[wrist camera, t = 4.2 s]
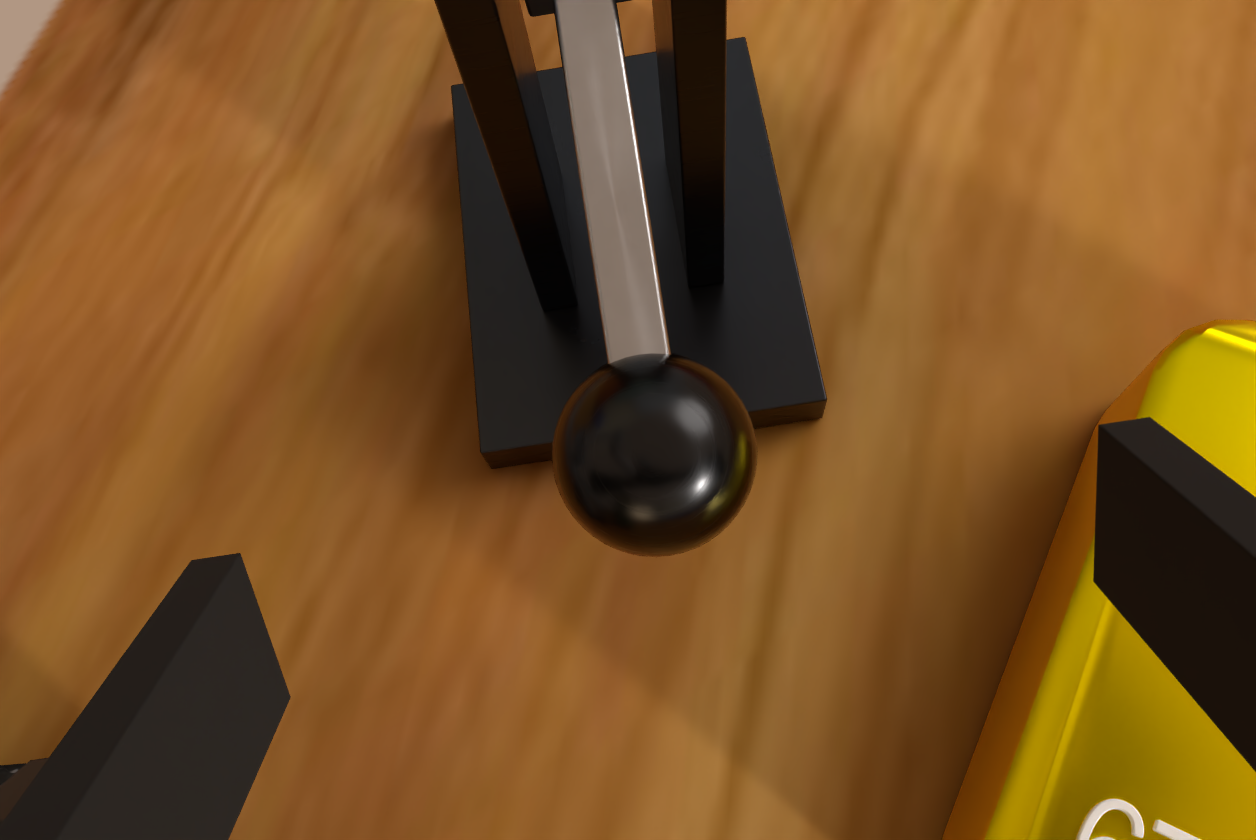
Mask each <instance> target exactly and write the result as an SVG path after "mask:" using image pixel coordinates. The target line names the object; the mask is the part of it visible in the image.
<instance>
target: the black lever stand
mask: <svg viewBox="0 0 1256 840" xmlns="http://www.w3.org/2000/svg"><path fill="white" fill-rule="evenodd" d="M434 1H435V4H436V6H437V9H438V12H439V15H440V18H441V21H442V24H443V27H444V29H445V32H446V35H447V38H448V41H449V44H450V47H451V49H452V52H453V55H454V58H455V61H456V64H457V67H458V70H459V72H460V75H461V78H462V81H463V84H457V85H452V86H451V93H452V105H453V117H454V130H455V142H456V155H457V167H458V180H459V192H460V204H461V217H462V229H463V242H464V254H465V267H466V279H467V291H468V304H469V316H470V329H471V341H472V354H473V366H474V378H475V391H476V403H477V416H478V428H479V441H480V452H481V454H482V455H483V457H484V459H485V460H486V462H487V463H488V465H489V466H490V468H491V469H494V468H500V467H507V466H513V465H520V464H526V463H533V462H539V461H546V460H552V443H553V437H554V432H555V427H556V424H557V421H558V418H559V415H560V413H561V411H562V409H563V407H564V405H565V403H566V402H567V400H568V398H569V397H570V395H571V394H572V392H573V391H574V390H575V389H576V388H577V387H578V385H579V384H580V383H581V382H582V381H583V380H584V379H585V378H586V377H588V376H589V375H590V374H591V373H592V372H594V371H595V370H597V369H598V368H600V367H601V366H603V365H605V364H607V363H608V360H607V354H606V347H605V341H604V334H603V328H602V321H601V315H600V308H599V302H598V295H597V288H596V282H595V275H594V269H593V262H592V256H591V249H590V243H589V236H588V230H587V223H586V216H585V210H584V203H583V197H582V190H581V184H580V177H579V171H578V164H577V158H576V151H575V145H574V138H573V131H572V125H571V118H570V112H569V105H568V99H567V92H566V86H565V79H564V73H563V67H560V68H554V69H547V70H541V71H536V67H535V63H534V59H533V55H532V51H531V47H530V43H529V39H528V35H527V31H526V27H525V23H524V18H523V14H522V10H521V6H520V2H519V0H434ZM652 6H653V18H654V30H655V42H656V52H650V53H644V54H638V55H632V56H626V57H625V62H626V68H627V75H628V81H629V88H630V94H631V101H632V107H633V113H634V120H635V126H636V133H637V139H638V146H639V152H640V158H641V165H642V171H643V178H644V184H645V191H646V197H647V204H648V210H649V216H650V223H651V229H652V236H653V242H654V249H655V255H656V261H657V268H658V274H659V281H660V287H661V294H662V300H663V307H664V313H665V319H666V326H667V332H668V339H669V345H670V352H671V353H673V354H679V355H682V356H685V357H689V358H692V359H694V360H696V361H698V362H700V363H702V364H704V365H706V366H707V367H709V368H711V369H712V370H714V371H715V372H716V373H718V374H719V375H720V376H721V377H722V378H724V379H725V380H726V381H727V382H728V383H729V384H730V386H731V387H732V388H733V389H734V390H735V391H736V393H737V394H738V396H739V397H740V398H741V400H742V402H743V403H744V405H745V407H746V409H747V411H748V413H749V416H750V419H751V421H752V424H753V428H761V427H767V426H774V425H780V424H787V423H793V422H800V421H806V420H813V419H819V418H822V417H823V413H824V409H825V405H826V401H827V397H826V392H825V388H824V383H823V379H822V375H821V370H820V366H819V361H818V357H817V352H816V348H815V344H814V339H813V335H812V330H811V326H810V321H809V317H808V312H807V308H806V304H805V299H804V295H803V290H802V286H801V281H800V277H799V273H798V268H797V264H796V259H795V255H794V250H793V246H792V242H791V237H790V233H789V228H788V224H787V219H786V215H785V211H784V206H783V202H782V197H781V193H780V188H779V184H778V180H777V175H776V171H775V166H774V162H773V157H772V153H771V148H770V144H769V140H768V135H767V131H766V126H765V122H764V117H763V113H762V109H761V104H760V100H759V95H758V91H757V86H756V82H755V78H754V73H753V69H752V64H751V60H750V55H749V51H748V47H747V42H746V38H745V37H741V38H735V39H729V40H726V28H727V0H652Z"/></svg>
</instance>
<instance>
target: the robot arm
mask: <svg viewBox="0 0 1256 840" xmlns="http://www.w3.org/2000/svg"><path fill="white" fill-rule="evenodd" d="M1093 582H1094V583H1095V584H1096V585H1097V586H1098V588H1099V589H1100V590H1101V591H1102V592H1103V594H1104V595H1105V596H1106V597H1107V598H1108V599H1109V601H1110V602H1111V603H1112V604H1113V605H1114V606H1115V608H1116V609H1117V610H1118V611H1119V612H1120V613H1121V615H1122V616H1123V617H1124V618H1125V619H1126V621H1127V622H1128V623H1129V624H1130V625H1131V626H1132V628H1133V629H1134V630H1135V631H1136V632H1137V633H1138V635H1139V636H1140V637H1141V638H1142V639H1143V640H1144V642H1145V643H1146V644H1147V645H1148V646H1149V648H1150V649H1151V650H1152V651H1153V652H1154V653H1155V655H1156V656H1157V657H1158V658H1159V659H1160V660H1161V662H1162V663H1163V664H1164V665H1165V666H1166V668H1167V669H1168V670H1169V671H1170V672H1171V673H1172V675H1173V676H1174V677H1175V678H1176V679H1177V680H1178V682H1179V683H1180V684H1181V685H1182V686H1183V687H1184V689H1185V690H1186V691H1187V692H1188V693H1189V695H1190V696H1191V697H1192V698H1193V699H1194V700H1195V702H1196V703H1197V704H1198V705H1199V706H1200V707H1201V709H1202V710H1203V711H1204V712H1205V713H1206V714H1207V716H1208V717H1209V718H1210V719H1211V720H1212V722H1213V723H1214V724H1215V725H1216V726H1217V727H1218V729H1219V730H1220V731H1221V732H1222V733H1223V734H1224V736H1225V737H1226V738H1227V739H1228V740H1229V741H1230V743H1231V744H1232V745H1233V746H1234V747H1235V749H1236V750H1237V751H1238V752H1239V753H1240V754H1241V756H1242V757H1243V758H1244V759H1245V760H1246V761H1247V763H1248V764H1249V765H1250V766H1251V767H1252V768H1253V770H1254V771H1255V772H1256V497H1255V496H1254V495H1252V494H1251V493H1250V492H1248V491H1247V490H1246V489H1244V488H1243V487H1242V486H1240V485H1239V484H1238V483H1236V482H1235V481H1234V480H1232V479H1231V478H1230V477H1229V476H1227V475H1226V474H1225V473H1223V472H1222V471H1221V470H1219V469H1218V468H1217V467H1215V466H1214V465H1213V464H1211V463H1210V462H1209V461H1207V460H1206V459H1205V458H1203V457H1202V456H1201V455H1199V454H1198V453H1197V452H1195V451H1194V450H1193V449H1192V448H1190V447H1189V446H1188V445H1186V444H1185V443H1184V442H1182V441H1181V440H1180V439H1178V438H1177V437H1176V436H1174V435H1173V434H1172V433H1170V432H1169V431H1168V430H1166V429H1165V428H1164V427H1162V426H1161V425H1160V424H1158V423H1157V422H1156V421H1154V420H1153V419H1152V418H1151V417H1147V418H1140V419H1134V420H1127V421H1120V422H1114V423H1107V424H1100V425H1098V451H1097V482H1096V512H1095V542H1094V573H1093ZM290 698H291V697H290V694H289V691H288V689H287V686H286V683H285V680H284V677H283V674H282V671H281V669H280V666H279V663H278V660H277V657H276V654H275V651H274V648H273V646H272V643H271V640H270V637H269V634H268V631H267V628H266V626H265V623H264V620H263V617H262V614H261V611H260V608H259V606H258V603H257V600H256V597H255V594H254V591H253V588H252V585H251V583H250V580H249V577H248V574H247V571H246V568H245V565H244V563H243V560H242V557H241V554H240V553H237V554H230V555H223V556H217V557H210V558H203V559H197V560H191V562H190V563H189V564H188V566H187V567H186V569H185V570H184V571H183V573H182V574H181V576H180V577H179V578H178V580H177V581H176V582H175V584H174V585H173V587H172V588H171V589H170V591H169V592H168V594H167V595H166V596H165V598H164V599H163V600H162V602H161V603H160V605H159V606H158V607H157V609H156V610H155V612H154V613H153V614H152V616H151V617H150V618H149V620H148V621H147V623H146V624H145V625H144V627H143V628H142V630H141V631H140V632H139V634H138V635H137V637H136V638H135V639H134V641H133V642H132V643H131V645H130V646H129V648H128V649H127V650H126V652H125V653H124V655H123V656H122V657H121V659H120V660H119V661H118V663H117V664H116V666H115V667H114V668H113V670H112V671H111V673H110V674H109V675H108V677H107V678H106V679H105V681H104V682H103V684H102V685H101V686H100V688H99V689H98V691H97V692H96V693H95V695H94V696H93V697H92V699H91V700H90V702H89V703H88V704H87V706H86V707H85V709H84V710H83V711H82V713H81V714H80V715H79V717H78V718H77V720H76V721H75V722H74V724H73V725H72V727H71V728H70V729H69V731H68V732H67V733H66V735H65V736H64V738H63V739H62V740H61V742H60V743H59V745H58V746H57V747H56V749H55V750H54V751H53V753H52V754H51V756H50V757H49V758H44V759H37V760H30V761H29V762H28V763H27V764H25V765H24V766H23V767H22V768H21V769H19V770H18V771H17V772H16V773H15V774H13V775H12V776H11V777H10V778H9V779H7V780H6V781H5V782H4V783H3V784H1V785H0V840H228V839H229V837H230V834H231V832H232V830H233V827H234V825H235V823H236V821H237V818H238V816H239V814H240V812H241V809H242V807H243V805H244V802H245V800H246V798H247V796H248V793H249V791H250V789H251V786H252V784H253V782H254V780H255V777H256V775H257V773H258V770H259V768H260V766H261V764H262V761H263V759H264V757H265V755H266V752H267V750H268V748H269V745H270V743H271V741H272V739H273V736H274V734H275V732H276V729H277V727H278V725H279V723H280V720H281V718H282V716H283V713H284V711H285V709H286V707H287V704H288V702H289V700H290Z"/></svg>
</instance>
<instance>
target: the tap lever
mask: <svg viewBox="0 0 1256 840" xmlns="http://www.w3.org/2000/svg"><path fill="white" fill-rule="evenodd" d="M624 1H630V0H525V3H526V6H527V9H528V13H529V14H530V16H533V17H534V16H540V15H546V14H552V13H554V14H555V20H556V27H557V33H558V40H559V46H560V53H561V59H562V66H563V73H564V79H565V86H566V92H567V99H568V105H569V112H570V118H571V125H572V131H573V138H574V145H575V151H576V158H577V164H578V171H579V177H580V184H581V190H582V197H583V203H584V210H585V216H586V223H587V230H588V236H589V243H590V249H591V256H592V262H593V269H594V275H595V282H596V288H597V295H598V302H599V308H600V315H601V321H602V328H603V334H604V341H605V347H606V354H607V360H608V363H607V364H605V365H603V366H601V367H600V368H598V369H597V370H595V371H594V372H592V373H591V374H590V375H589V376H588V377H586V378H585V379H584V380H583V381H582V382H581V383H580V384H579V385H578V387H577V388H576V389H575V390H574V391H573V392H572V394H571V395H570V397H569V398H568V400H567V402H566V403H565V405H564V407H563V409H562V411H561V413H560V415H559V418H558V421H557V424H556V427H555V432H554V437H553V443H552V463H553V472H554V476H555V481H556V484H557V487H558V490H559V493H560V495H561V497H562V499H563V501H564V503H565V505H566V507H567V508H568V510H569V511H570V513H571V514H572V516H573V517H574V518H575V519H576V521H577V522H578V523H579V524H580V525H581V526H582V527H583V528H584V529H585V530H586V531H587V532H589V533H590V534H591V535H592V536H593V537H595V538H596V539H598V540H599V541H601V542H603V543H604V544H606V545H608V546H610V547H612V548H614V549H617V550H620V551H623V552H626V553H629V554H634V555H639V556H650V557H660V556H671V555H675V554H680V553H684V552H687V551H689V550H692V549H695V548H697V547H699V546H701V545H703V544H705V543H707V542H708V541H710V540H711V539H713V538H714V537H716V536H717V535H718V534H720V533H721V532H722V531H723V530H724V529H725V528H726V527H727V526H728V525H729V524H730V523H731V522H732V521H733V519H734V518H735V517H736V516H737V515H738V513H739V511H740V510H741V508H742V507H743V505H744V504H745V501H746V499H747V497H748V495H749V493H750V490H751V487H752V484H753V481H754V477H755V471H756V465H757V445H756V437H755V432H754V428H753V424H752V421H751V419H750V416H749V413H748V411H747V409H746V407H745V405H744V403H743V402H742V400H741V398H740V397H739V396H738V394H737V393H736V391H735V390H734V389H733V388H732V387H731V386H730V384H729V383H728V382H727V381H726V380H725V379H724V378H722V377H721V376H720V375H719V374H718V373H716V372H715V371H714V370H712V369H711V368H709V367H707V366H706V365H704V364H702V363H700V362H698V361H696V360H694V359H692V358H689V357H685V356H682V355H679V354H673V353H671V352H670V345H669V339H668V332H667V326H666V319H665V313H664V307H663V300H662V294H661V287H660V281H659V274H658V268H657V261H656V255H655V249H654V242H653V236H652V229H651V223H650V216H649V210H648V204H647V197H646V191H645V184H644V178H643V171H642V165H641V158H640V152H639V146H638V139H637V133H636V126H635V120H634V113H633V107H632V101H631V94H630V88H629V81H628V75H627V68H626V62H625V55H624V49H623V43H622V36H621V30H620V23H619V17H618V10H617V4H616V3H618V2H624Z"/></svg>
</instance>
